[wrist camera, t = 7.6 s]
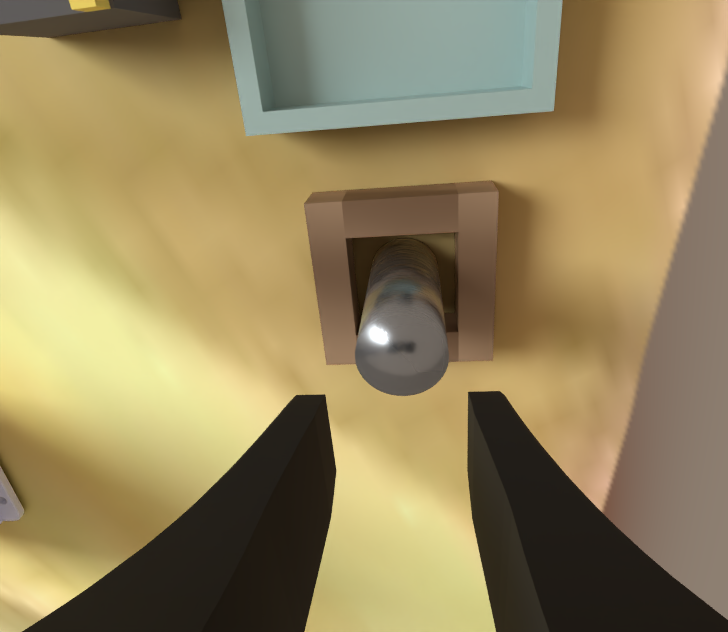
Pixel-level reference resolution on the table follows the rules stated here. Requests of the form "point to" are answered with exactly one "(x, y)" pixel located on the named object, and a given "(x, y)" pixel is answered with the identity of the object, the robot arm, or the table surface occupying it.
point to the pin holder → (406, 217)
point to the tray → (390, 60)
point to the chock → (80, 15)
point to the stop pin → (403, 321)
